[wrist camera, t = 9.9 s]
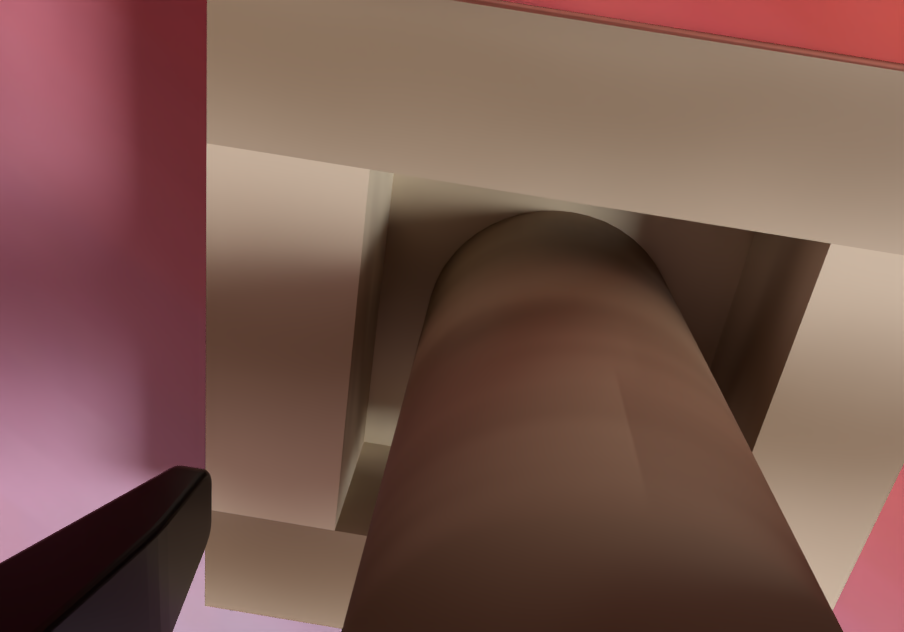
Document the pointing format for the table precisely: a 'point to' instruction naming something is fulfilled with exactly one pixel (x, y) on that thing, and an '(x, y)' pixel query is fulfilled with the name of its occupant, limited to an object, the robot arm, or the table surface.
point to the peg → (571, 459)
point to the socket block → (517, 192)
